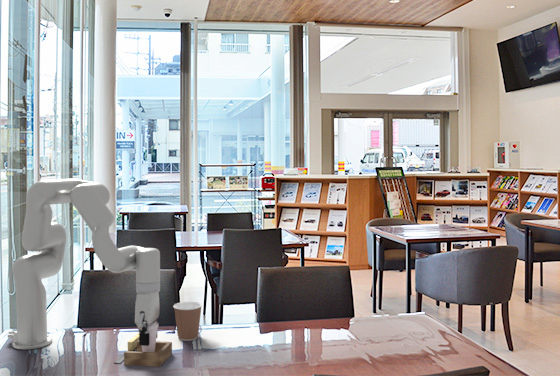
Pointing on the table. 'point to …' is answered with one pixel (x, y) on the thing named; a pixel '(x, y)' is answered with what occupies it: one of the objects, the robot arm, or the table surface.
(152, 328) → the smoothie
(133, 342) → the lock bar
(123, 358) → the cradle
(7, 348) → the table surface
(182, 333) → the coffee cup
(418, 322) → the table surface
